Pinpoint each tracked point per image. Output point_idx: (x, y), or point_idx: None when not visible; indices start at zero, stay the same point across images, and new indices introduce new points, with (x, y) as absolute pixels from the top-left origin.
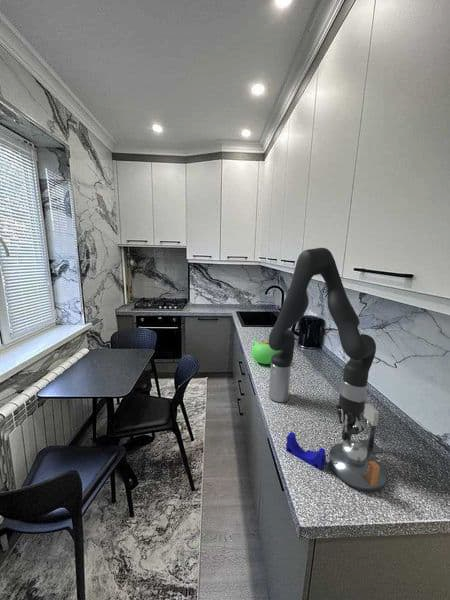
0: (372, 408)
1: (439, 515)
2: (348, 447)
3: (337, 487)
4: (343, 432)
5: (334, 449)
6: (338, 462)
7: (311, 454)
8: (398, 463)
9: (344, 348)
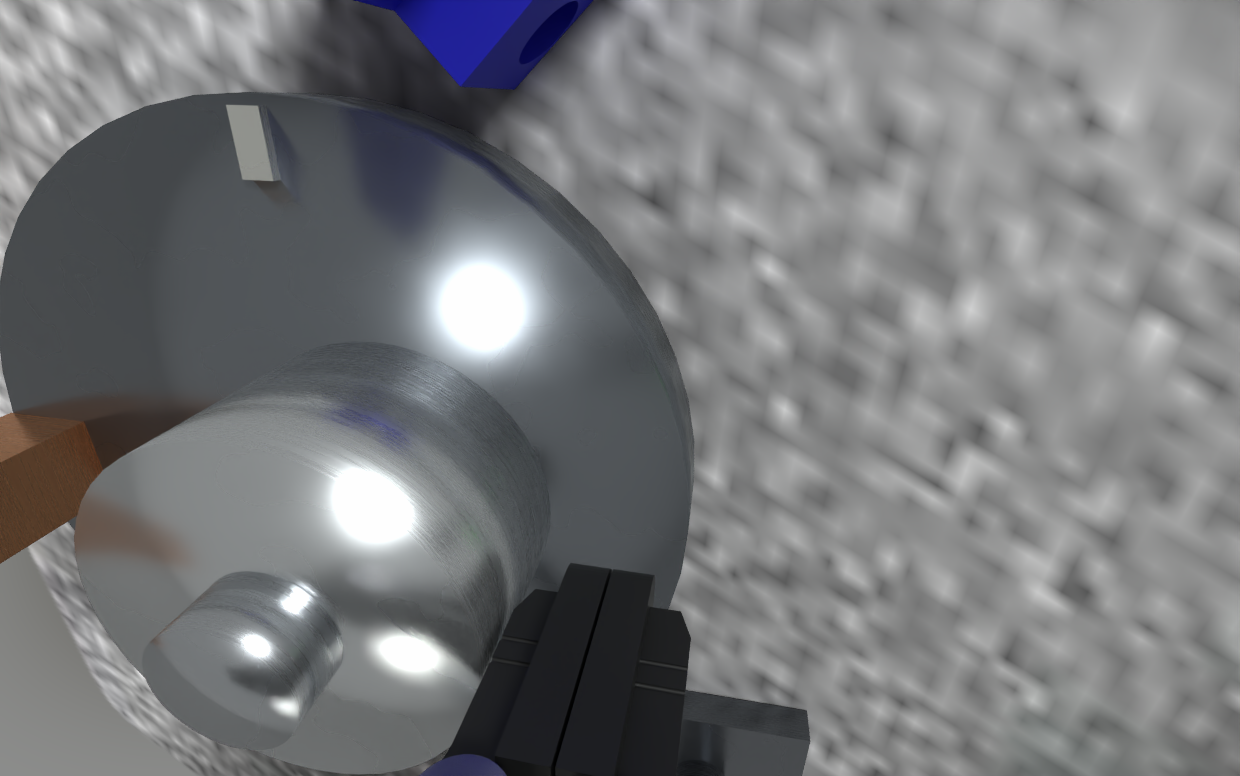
0: None
1: (117, 700)
2: (242, 520)
3: (137, 50)
4: (585, 702)
5: (556, 312)
6: (279, 215)
7: None
8: None
9: None
